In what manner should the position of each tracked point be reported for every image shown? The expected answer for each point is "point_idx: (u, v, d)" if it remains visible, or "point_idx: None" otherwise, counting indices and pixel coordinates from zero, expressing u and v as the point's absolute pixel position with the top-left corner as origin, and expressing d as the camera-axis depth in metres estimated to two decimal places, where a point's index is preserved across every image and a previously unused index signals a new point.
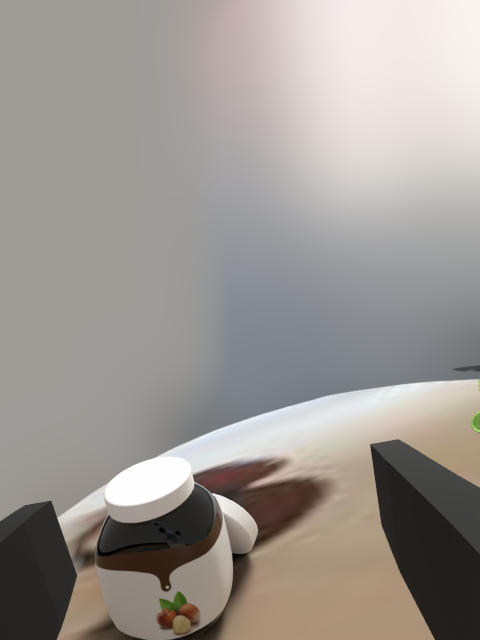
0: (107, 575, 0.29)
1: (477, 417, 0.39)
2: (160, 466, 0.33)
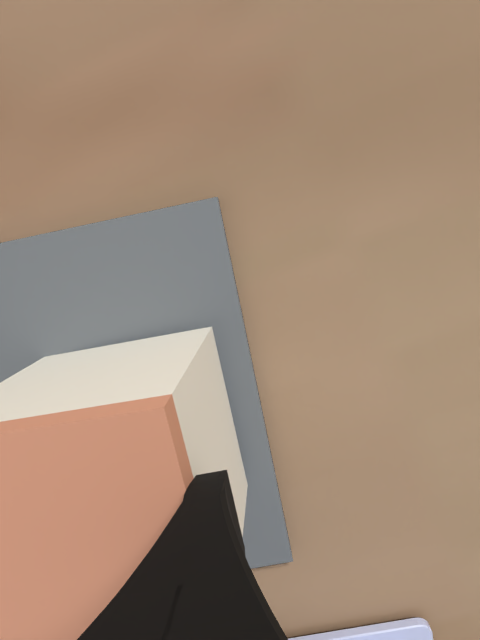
0: None
1: None
2: None
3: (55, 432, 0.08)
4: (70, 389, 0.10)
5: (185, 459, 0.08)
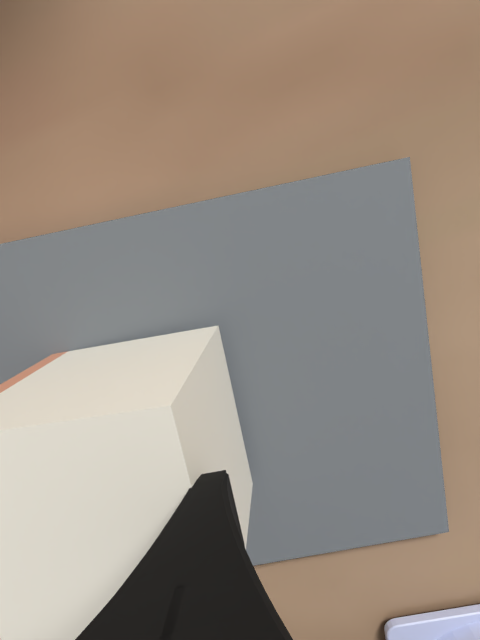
0: None
1: None
2: None
3: None
4: (55, 378, 0.11)
5: None
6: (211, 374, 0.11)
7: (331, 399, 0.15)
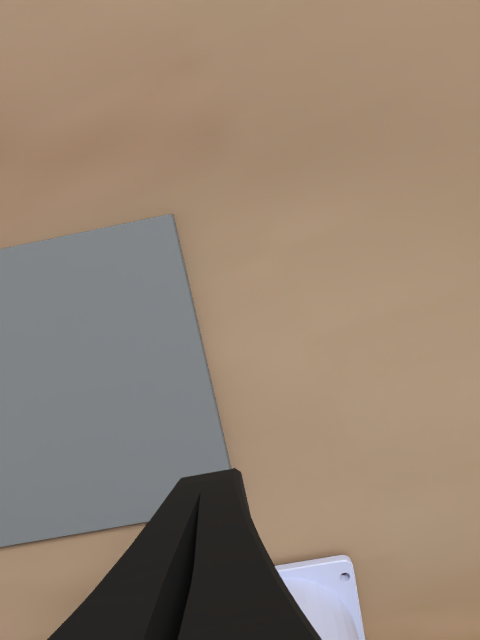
0: None
1: None
2: None
3: None
4: None
5: None
6: None
7: (132, 399, 0.18)
